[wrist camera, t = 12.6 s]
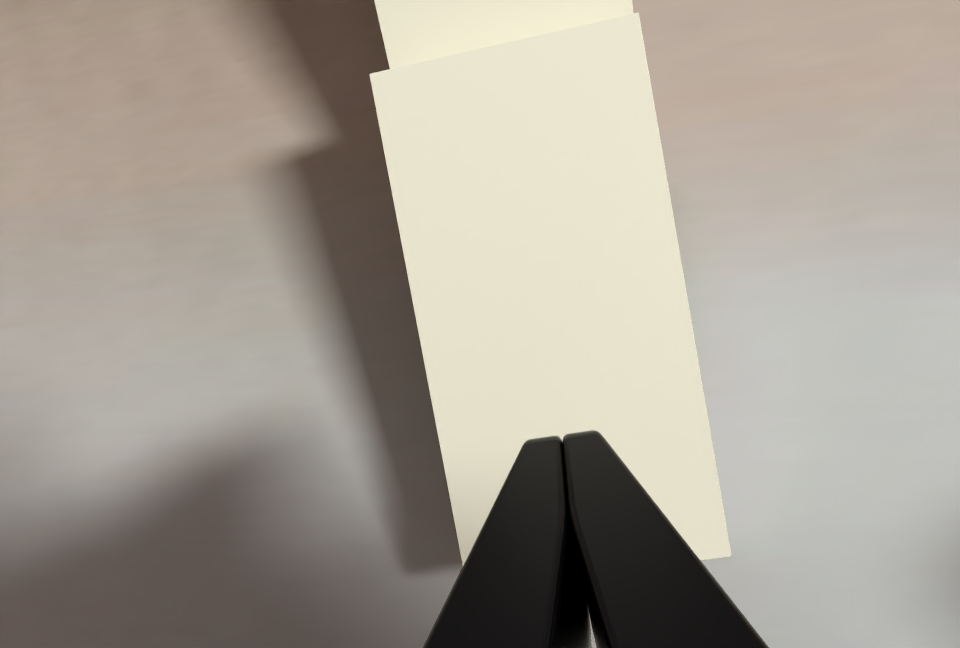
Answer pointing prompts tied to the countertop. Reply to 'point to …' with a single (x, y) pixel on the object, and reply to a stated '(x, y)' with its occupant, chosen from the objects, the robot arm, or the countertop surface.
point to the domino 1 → (479, 23)
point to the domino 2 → (549, 267)
